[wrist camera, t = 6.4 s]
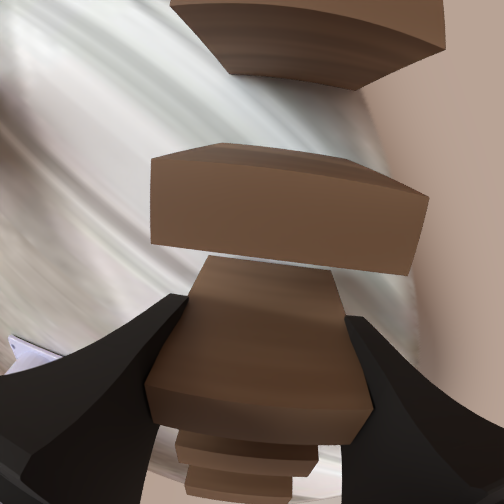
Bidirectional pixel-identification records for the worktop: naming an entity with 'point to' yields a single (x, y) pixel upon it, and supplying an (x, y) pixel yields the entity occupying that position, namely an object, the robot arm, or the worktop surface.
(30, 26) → the worktop surface
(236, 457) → the domino
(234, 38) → the domino
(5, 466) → the robot arm
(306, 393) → the domino
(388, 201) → the domino
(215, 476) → the domino
